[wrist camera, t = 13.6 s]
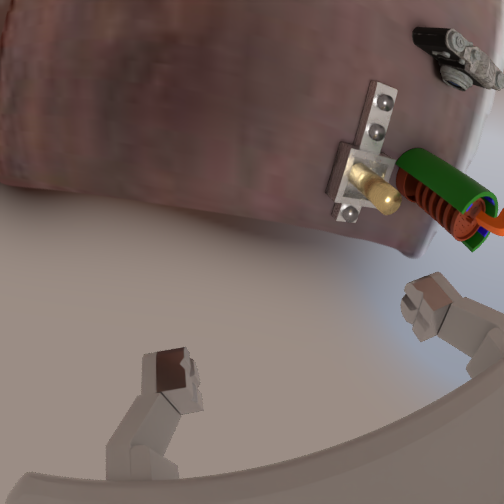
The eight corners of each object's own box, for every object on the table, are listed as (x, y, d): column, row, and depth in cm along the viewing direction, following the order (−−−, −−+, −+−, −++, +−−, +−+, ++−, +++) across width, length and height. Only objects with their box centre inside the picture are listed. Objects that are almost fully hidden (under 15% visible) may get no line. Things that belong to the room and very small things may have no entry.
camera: (404, 58, 33) (452, 66, 25) (414, 22, 29) (462, 24, 21) (462, 97, 37) (505, 114, 29) (471, 66, 33) (514, 78, 26)
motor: (383, 179, 44) (469, 251, 28) (413, 136, 40) (510, 192, 24) (415, 206, 48) (489, 275, 32) (442, 168, 45) (524, 227, 29)
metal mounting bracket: (357, 75, 34) (370, 77, 31) (401, 93, 36) (414, 96, 33) (318, 213, 45) (327, 224, 43) (361, 218, 47) (370, 228, 45)
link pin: (351, 161, 40) (384, 188, 33) (371, 165, 41) (405, 191, 34) (345, 183, 42) (374, 213, 35) (364, 186, 43) (395, 216, 36)
